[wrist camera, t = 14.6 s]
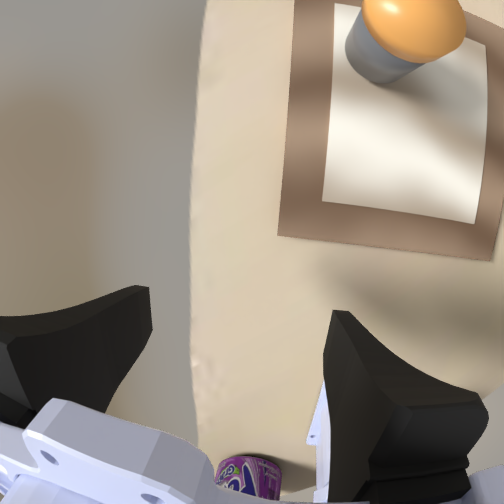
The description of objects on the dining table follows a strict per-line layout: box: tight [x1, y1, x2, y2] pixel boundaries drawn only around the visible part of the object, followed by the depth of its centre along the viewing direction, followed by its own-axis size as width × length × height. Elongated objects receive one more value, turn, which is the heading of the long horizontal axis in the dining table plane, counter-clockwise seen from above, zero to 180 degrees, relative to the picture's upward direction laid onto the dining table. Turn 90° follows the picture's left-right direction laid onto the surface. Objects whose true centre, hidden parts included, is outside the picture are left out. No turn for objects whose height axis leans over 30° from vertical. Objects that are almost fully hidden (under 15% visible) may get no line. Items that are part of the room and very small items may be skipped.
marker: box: [345, 0, 466, 83], centre depth 12 cm, size 4×4×8 cm
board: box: [277, 0, 504, 261], centre depth 17 cm, size 18×16×1 cm
